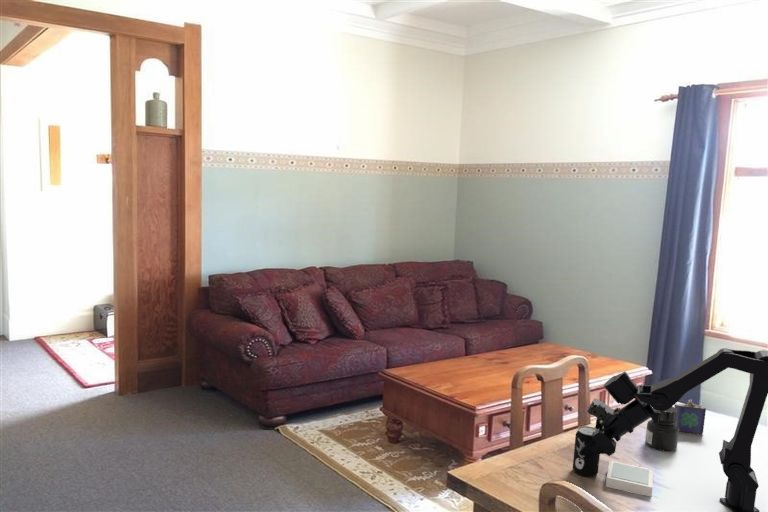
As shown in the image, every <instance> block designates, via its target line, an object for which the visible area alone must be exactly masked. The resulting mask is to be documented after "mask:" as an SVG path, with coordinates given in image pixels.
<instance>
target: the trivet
mask: <svg viewBox="0 0 768 512" xmlns="http://www.w3.org/2000/svg"><path fill="white" fill-rule="evenodd" d="M653 484H654V469H652V468H646V467H642V466H641V467H640V466H637V465H632V464H628V463H624V462H617V461H612V460H609V463H608V468H607V475H606V480H605V487H606V488H610V489H614V490H615V489H616V490H618V491H619V490H620V491H624V492H629V493H632V494H637V495H641V496H646V497H649V498H651V497H652V496H653V488H654V487H653V486H654V485H653Z"/></svg>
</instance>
